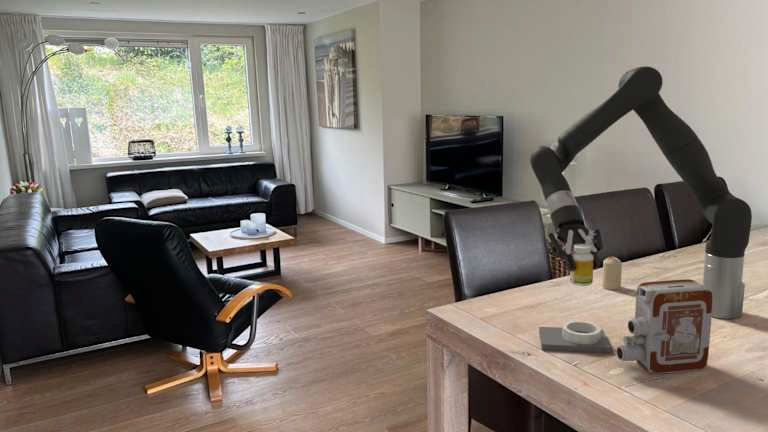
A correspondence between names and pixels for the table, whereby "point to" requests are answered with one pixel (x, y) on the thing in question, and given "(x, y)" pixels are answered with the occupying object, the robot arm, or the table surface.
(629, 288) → the table surface
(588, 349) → the mount plate
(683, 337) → the cine camera
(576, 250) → the supplement bottle
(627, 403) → the table surface
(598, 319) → the table surface
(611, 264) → the candle
